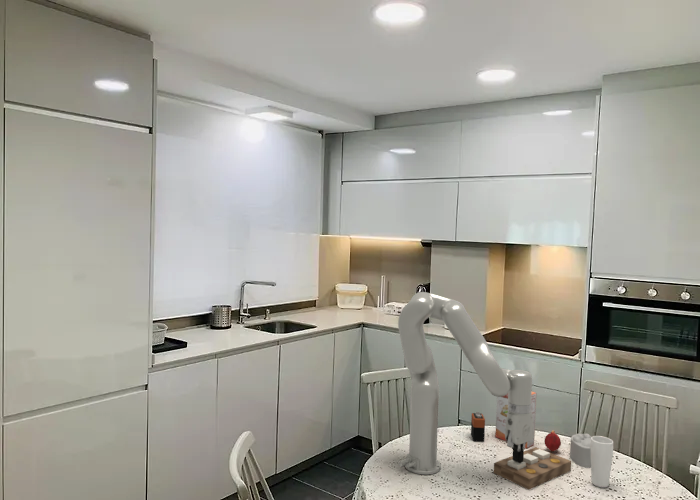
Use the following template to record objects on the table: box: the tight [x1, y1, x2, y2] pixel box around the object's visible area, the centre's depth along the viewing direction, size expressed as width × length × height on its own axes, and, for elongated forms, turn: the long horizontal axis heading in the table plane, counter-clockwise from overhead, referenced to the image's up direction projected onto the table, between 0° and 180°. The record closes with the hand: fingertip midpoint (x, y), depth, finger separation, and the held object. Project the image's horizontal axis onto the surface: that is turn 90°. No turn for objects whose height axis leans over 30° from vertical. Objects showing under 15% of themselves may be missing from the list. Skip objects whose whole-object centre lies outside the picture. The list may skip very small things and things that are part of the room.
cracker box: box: [495, 391, 537, 449], centre depth 211 cm, size 14×6×21 cm, turn 42°
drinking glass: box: [590, 435, 614, 488], centre depth 178 cm, size 7×7×15 cm
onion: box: [543, 429, 562, 453], centre depth 203 cm, size 6×6×8 cm
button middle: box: [523, 454, 538, 465], centre depth 187 cm, size 4×4×2 cm
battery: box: [470, 411, 486, 443], centre depth 214 cm, size 4×7×10 cm, turn 175°
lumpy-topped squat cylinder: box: [569, 433, 592, 469], centre depth 196 cm, size 10×13×9 cm
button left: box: [508, 459, 526, 470], centre depth 183 cm, size 4×4×2 cm
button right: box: [532, 448, 551, 460], centre depth 191 cm, size 4×4×2 cm
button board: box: [493, 446, 572, 491], centre depth 186 cm, size 24×14×4 cm, turn 127°
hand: (517, 460), depth 182 cm, fingers closed
